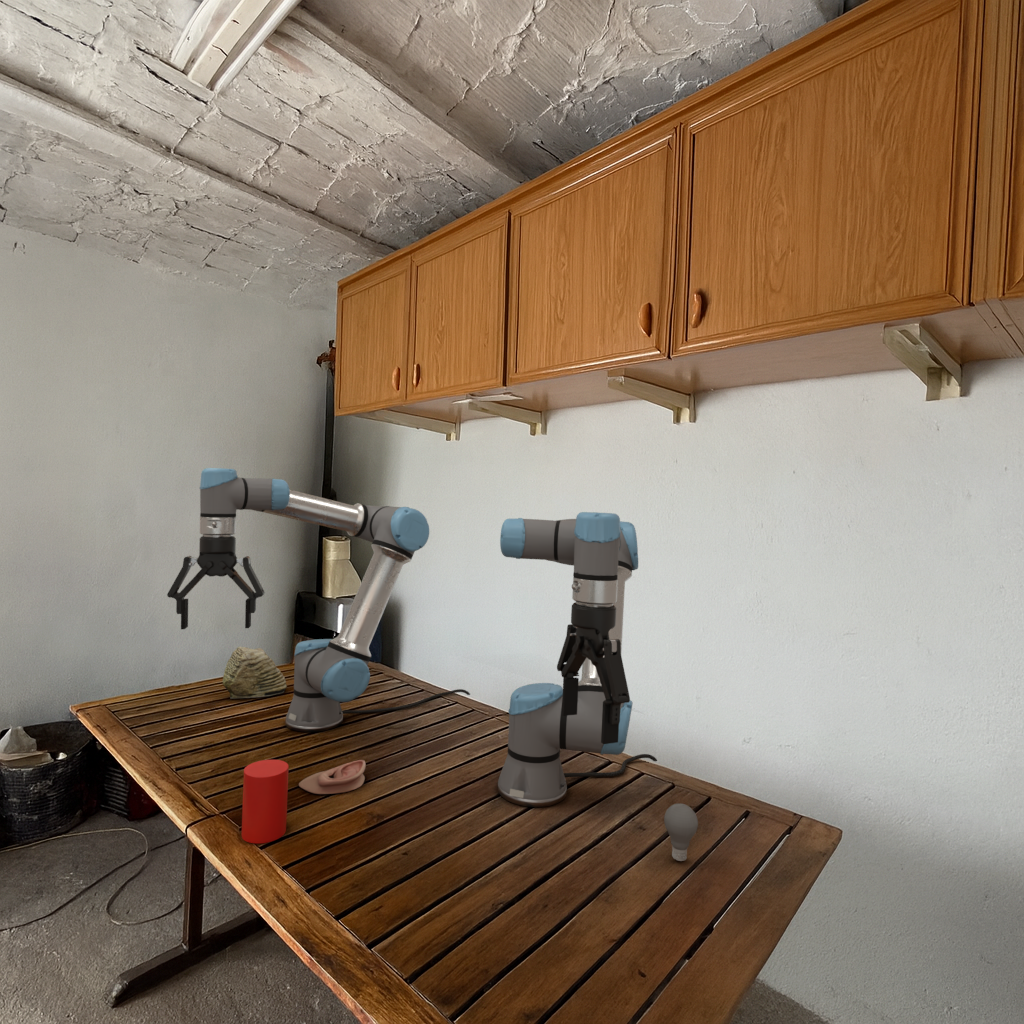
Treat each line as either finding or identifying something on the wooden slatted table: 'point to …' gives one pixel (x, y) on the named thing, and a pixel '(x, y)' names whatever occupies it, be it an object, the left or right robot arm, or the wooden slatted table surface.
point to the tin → (264, 801)
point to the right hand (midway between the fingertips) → (588, 727)
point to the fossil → (252, 674)
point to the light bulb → (680, 828)
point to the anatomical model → (336, 779)
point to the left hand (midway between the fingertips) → (216, 627)
